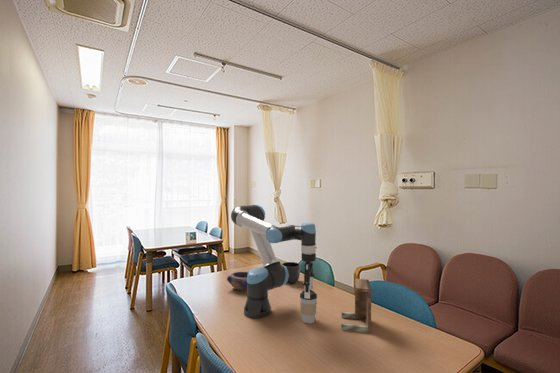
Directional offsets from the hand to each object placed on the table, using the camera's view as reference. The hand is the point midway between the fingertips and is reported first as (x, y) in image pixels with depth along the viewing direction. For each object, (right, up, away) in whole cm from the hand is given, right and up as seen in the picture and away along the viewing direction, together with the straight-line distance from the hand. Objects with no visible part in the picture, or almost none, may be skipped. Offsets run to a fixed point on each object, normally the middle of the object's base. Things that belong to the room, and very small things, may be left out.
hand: (308, 293), depth 147 cm
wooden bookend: (+22, -14, -4) cm, 27 cm away
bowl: (-41, -15, +46) cm, 64 cm away
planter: (-7, -15, +59) cm, 61 cm away
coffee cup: (0, -14, 0) cm, 14 cm away
